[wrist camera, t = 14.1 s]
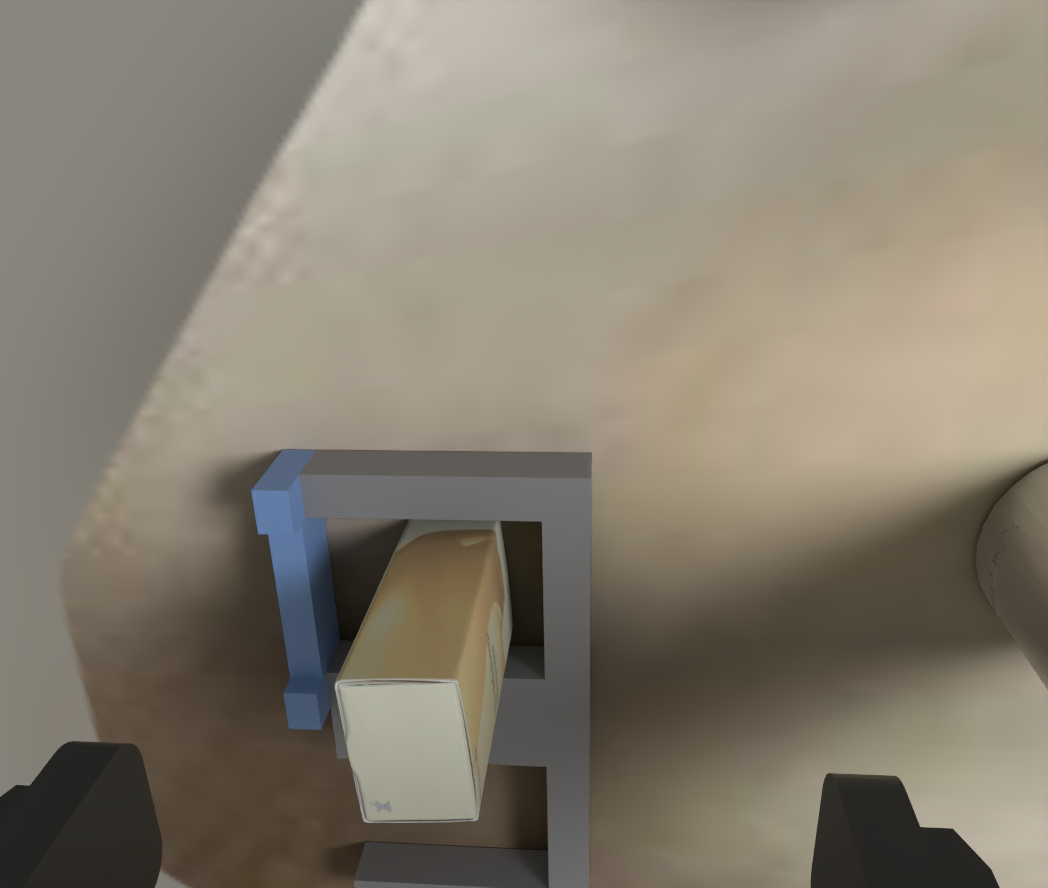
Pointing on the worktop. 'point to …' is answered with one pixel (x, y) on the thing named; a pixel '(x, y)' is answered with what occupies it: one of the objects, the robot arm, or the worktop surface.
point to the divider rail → (531, 671)
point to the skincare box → (429, 674)
